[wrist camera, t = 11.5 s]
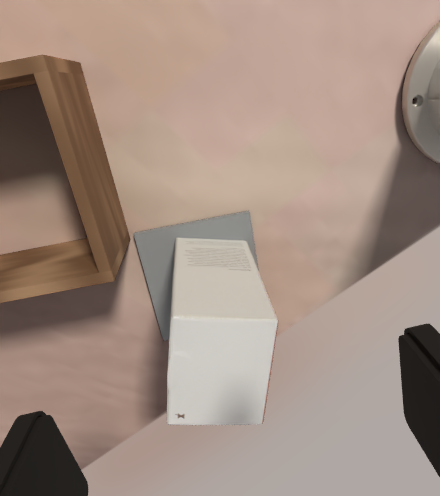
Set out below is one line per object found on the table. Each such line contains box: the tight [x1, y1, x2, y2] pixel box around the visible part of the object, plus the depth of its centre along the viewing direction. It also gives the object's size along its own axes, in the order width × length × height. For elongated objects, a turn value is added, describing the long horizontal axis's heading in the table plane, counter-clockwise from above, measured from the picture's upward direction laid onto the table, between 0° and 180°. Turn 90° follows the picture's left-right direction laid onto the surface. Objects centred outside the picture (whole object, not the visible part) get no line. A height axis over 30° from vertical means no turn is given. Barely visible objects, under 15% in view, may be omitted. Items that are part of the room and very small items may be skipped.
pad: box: [134, 211, 259, 341], centre depth 36 cm, size 10×11×1 cm
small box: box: [167, 238, 278, 425], centre depth 30 cm, size 8×6×13 cm
